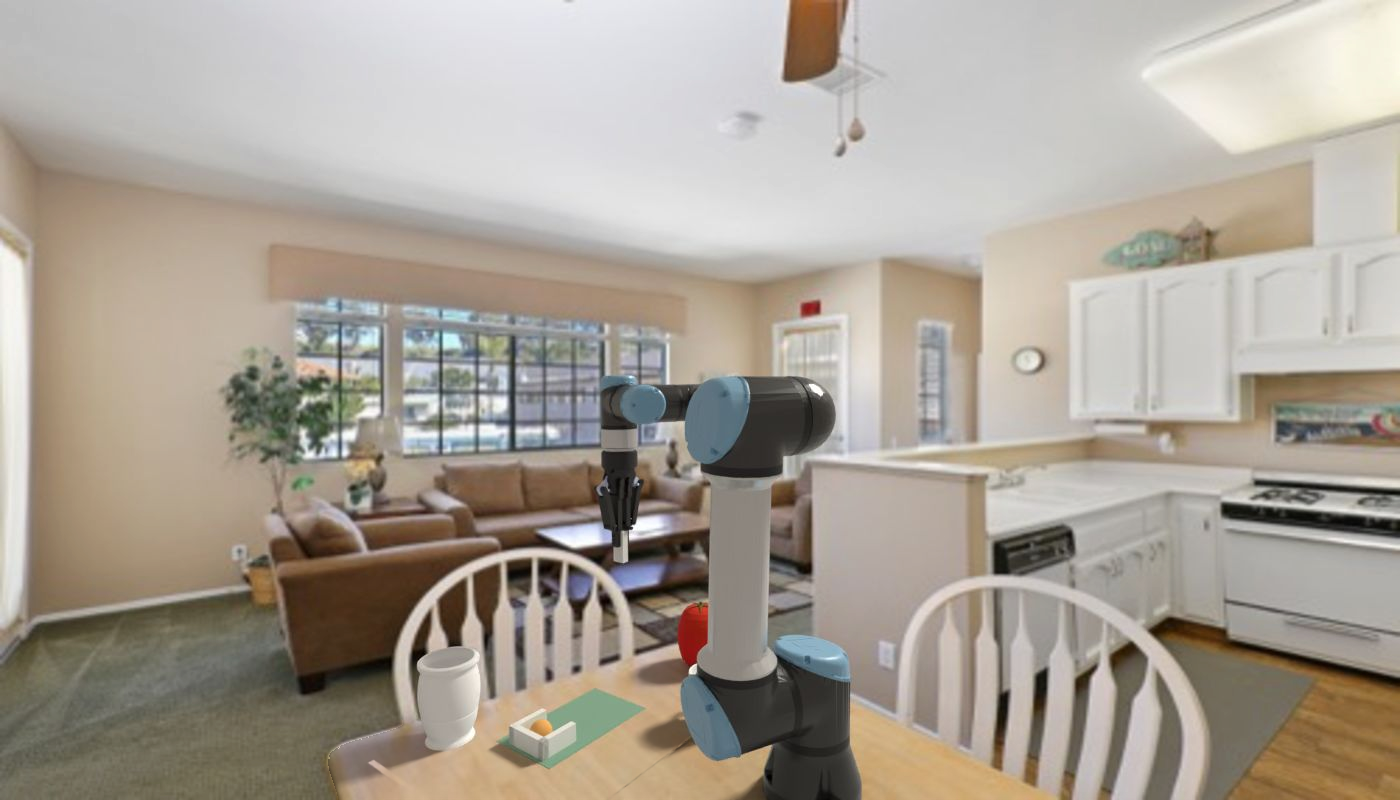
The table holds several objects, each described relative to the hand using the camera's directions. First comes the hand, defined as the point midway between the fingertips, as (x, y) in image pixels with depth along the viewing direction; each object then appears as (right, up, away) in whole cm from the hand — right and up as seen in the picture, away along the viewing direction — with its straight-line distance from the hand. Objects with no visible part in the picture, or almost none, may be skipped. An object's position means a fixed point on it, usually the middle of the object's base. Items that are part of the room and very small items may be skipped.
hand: (620, 561), depth 134 cm
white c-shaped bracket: (-11, -27, -21) cm, 36 cm away
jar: (-28, -28, -19) cm, 44 cm away
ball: (-11, -25, -22) cm, 35 cm away
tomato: (+17, -26, +11) cm, 33 cm away
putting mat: (-7, -27, -15) cm, 32 cm away
